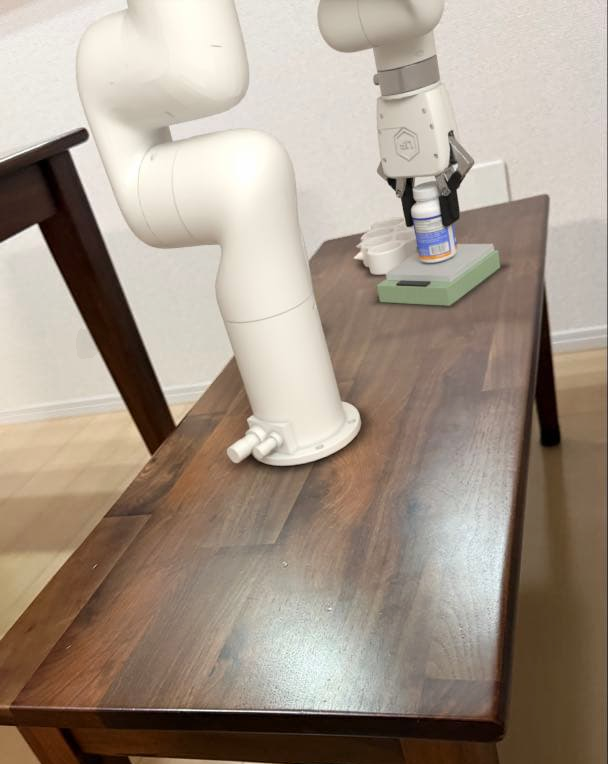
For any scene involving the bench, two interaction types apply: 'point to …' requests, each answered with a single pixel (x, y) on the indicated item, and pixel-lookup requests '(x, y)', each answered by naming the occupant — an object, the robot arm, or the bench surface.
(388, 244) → the white compartment tray
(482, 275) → the scale
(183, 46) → the robot arm
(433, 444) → the bench surface
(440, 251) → the pill bottle
